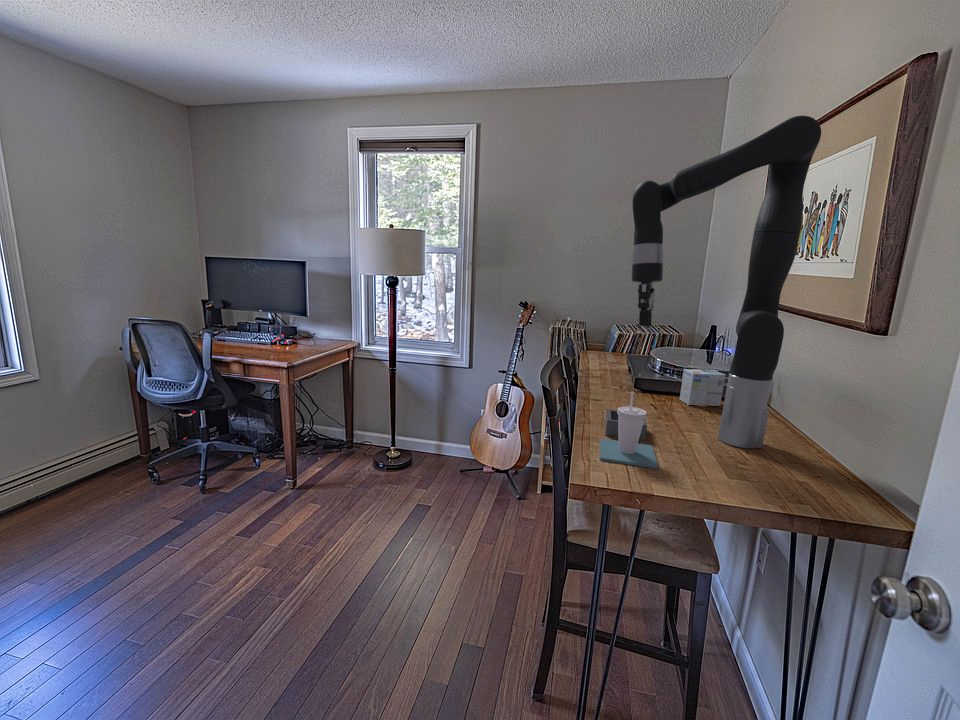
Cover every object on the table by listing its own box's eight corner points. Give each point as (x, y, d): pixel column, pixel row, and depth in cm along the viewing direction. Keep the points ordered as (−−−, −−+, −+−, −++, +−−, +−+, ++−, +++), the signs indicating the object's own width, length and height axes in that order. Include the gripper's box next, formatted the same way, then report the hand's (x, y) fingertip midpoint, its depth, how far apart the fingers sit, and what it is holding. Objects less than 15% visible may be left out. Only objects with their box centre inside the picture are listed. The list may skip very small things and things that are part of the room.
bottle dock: (641, 427, 124) (643, 413, 123) (644, 440, 115) (647, 425, 114) (604, 423, 126) (606, 408, 125) (605, 435, 117) (607, 420, 116)
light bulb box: (709, 401, 154) (714, 369, 152) (720, 407, 147) (726, 374, 145) (678, 400, 153) (683, 368, 151) (688, 406, 146) (693, 373, 144)
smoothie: (606, 447, 108) (613, 388, 105) (628, 444, 111) (635, 387, 108) (625, 458, 102) (633, 397, 99) (647, 454, 105) (656, 395, 102)
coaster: (651, 447, 111) (652, 445, 111) (657, 468, 99) (658, 466, 99) (600, 440, 114) (600, 438, 113) (600, 460, 102) (600, 457, 102)
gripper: (661, 258, 113) (658, 326, 114) (664, 265, 126) (662, 326, 127) (628, 260, 116) (626, 325, 117) (635, 266, 129) (633, 325, 130)
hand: (645, 325), depth 122 cm, fingers open, 8 cm apart
